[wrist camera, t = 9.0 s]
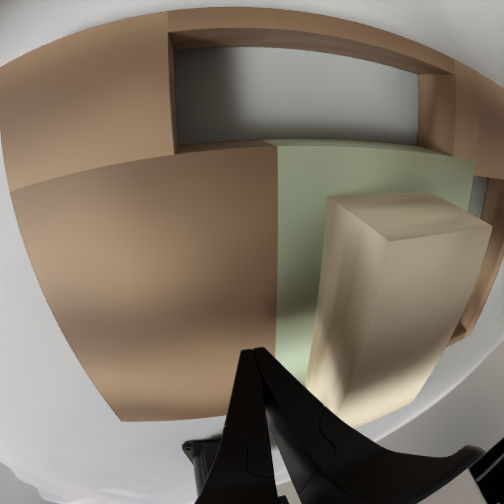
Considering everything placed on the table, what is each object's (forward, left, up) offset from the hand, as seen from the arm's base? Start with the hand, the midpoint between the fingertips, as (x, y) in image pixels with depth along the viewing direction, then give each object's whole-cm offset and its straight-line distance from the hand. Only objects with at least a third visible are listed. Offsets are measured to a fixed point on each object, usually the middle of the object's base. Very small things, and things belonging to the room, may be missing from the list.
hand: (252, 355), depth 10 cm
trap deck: (+2, -5, -4) cm, 7 cm away
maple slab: (0, -6, -2) cm, 6 cm away
